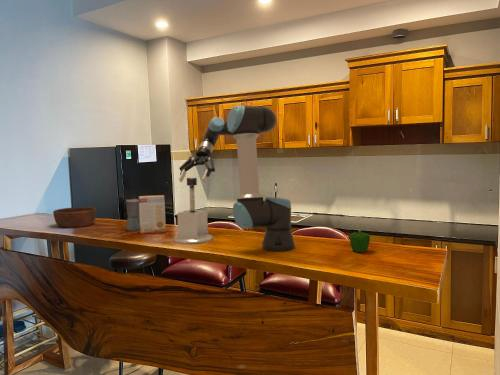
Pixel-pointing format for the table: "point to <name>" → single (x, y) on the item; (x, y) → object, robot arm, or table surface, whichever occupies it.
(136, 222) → the moka pot
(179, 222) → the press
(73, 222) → the wooden bowl
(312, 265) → the table surface
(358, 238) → the bell pepper
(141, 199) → the cracker box
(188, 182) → the plunger
